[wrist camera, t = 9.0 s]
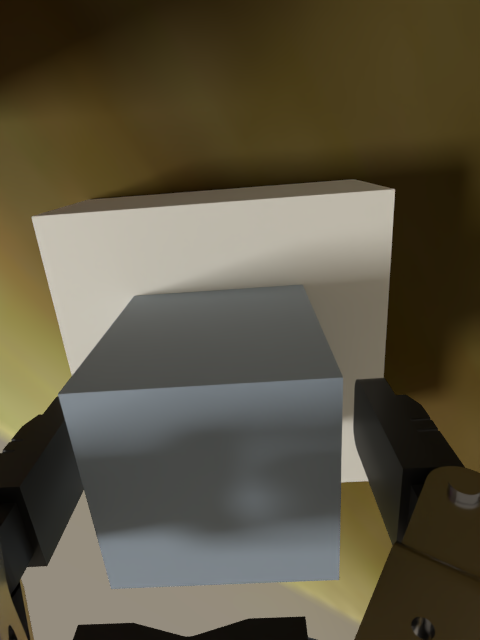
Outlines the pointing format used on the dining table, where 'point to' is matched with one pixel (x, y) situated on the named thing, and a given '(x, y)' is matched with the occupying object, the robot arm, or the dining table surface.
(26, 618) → the robot arm
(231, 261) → the cream block
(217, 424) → the slate cube
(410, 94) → the dining table surface
